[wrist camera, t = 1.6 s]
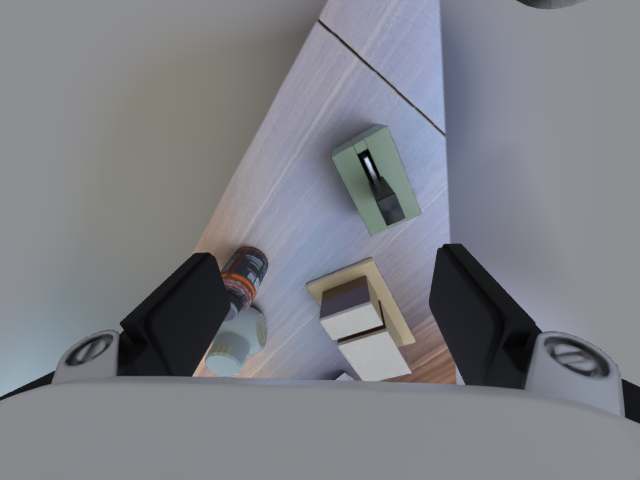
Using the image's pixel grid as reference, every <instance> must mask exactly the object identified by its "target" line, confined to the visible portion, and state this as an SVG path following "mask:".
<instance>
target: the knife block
mask: <svg viewBox="0 0 640 480" xmlns="http://www.w3.org/2000/svg"><path fill="white" fill-rule="evenodd" d="M363 151H364V152H365V154H366V155H367V157H368V159H369V161H370V164H371V166H372V168H373V170H374V173H375V175H376V177H377V178H379V177H381V176H383V177H384V178H385V179H386V181H387V182H388V184H389V185H390V186H391V188H392V189H393V191H394V192H395V193H396V196H397V198H398V200H399V203H400V205H401V208H402V210H403V212H404V215H405V219H403V220H400V221H398V222H396V223H394V224H391V225H389V226H387V225H386V223H385V221H384V219H383V217H382V215H381V212H380V210H379V208H378V206H377V204H376V202H375V199H374V197H373V194H372V192H371V190H370V187H369V185H368V183H369V182H371V181H373V180H372V178H371V176H370V174H369V171H368V169H367V167H366V165H365V163H364V160H363V158H362V156H361V154H360V153H361V152H363ZM331 158H332V160H333V162H334V164H335V166H336V168H337V170H338V172H339V174H340V176H341V178H342V180H343V182H344V184H345V186H346V188H347V190H348V192H349V194H350V196H351V198H352V200H353V202H354V203H355V205H356V207H357V209H358V211H359V213H360V215H361V217H362V219H363V221H364V223H365V225H366V227H367V229H368V231H369V233H370V235H371V236H372V235H375V234H377V233H379V232H381V231H384V230H386V229H388V228H390V227H393V226H395V225H398V224H400V223H402V222H405V221H407V220H409V219H412V218H414V217H416V216H419V215H421V214H422V213H421V210H420V208H419V205H418V203H417V200H416V197H415V195H414V192H413V190H412V187H411V185H410V182H409V179H408V177H407V174H406V172H405V169H404V167H403V164H402V161H401V159H400V156H399V154H398V151H397V149H396V146H395V143H394V141H393V138H392V136H391V133H390V131H389V128H388V126H386V125H381V124H376V125H374V126H373V127H371V128H369V129H367V130H366V131H364V132H362V133H360V134H359V135H357V136H355V137H353V138H352V139H350V140H348V141H347V142H345V143H343V144H341V145H340V146H338V147H336V148H334V149H333V153H332V157H331Z"/></svg>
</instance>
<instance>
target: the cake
mask: <svg viewBox="0 0 640 480" xmlns="http://www.w3.org/2000/svg"><path fill="white" fill-rule="evenodd" d="M306 287H307V289H308V290H309V292H310V293H311V295H312V296H313V297H314V299H315V300H316V302H317V303H318V304H319V306H320V307H321V310H320V319H319V322H320V324H321V325H322V326H323V328H324V329H325V330H326V332H327V333H328V334H329V336H330V337H331V339H332V340H336V339H337V347H338V348H339V349H340V351H341V352H342V353H343V355H344V356H345V358H346V359H347V360H348V362H349V363H350V364H351V366H352V367H353V368H354V370H355V371H356V372H357V374H358V375H359V377H360V378H361V379H362V381H373V382H376V381H380V380H384V379H388V378H392V377H397V376H401V375H405V374H409V373H411V370H410V366H409V363H408V359H407V355H406V352H405V348H404V345H408V344H411V343H415V342H416V340H415V338H414V336H413V334H412V332H411V330H410V328H409V326H408V324H407V322H406V321H405V319H404V317H403V315H402V313H401V311H400V309H399V307H398V305H397V303H396V302H395V300H394V298H393V296H392V294H391V292H390V290H389V288H388V286H387V284H386V283H385V281H384V279H383V277H382V275H381V273H380V271H379V269H378V267H377V266H376V264H375V262H374V260H373V258H372V257H371V258H369V259H366V260H364V261H361V262H359V263H357V264H354V265H352V266H349V267H347V268H344V269H342V270H339V271H337V272H334V273H332V274H329V275H327V276H324V277H322V278H320V279H317V280H315V281H312V282H310V283H307V286H306Z"/></svg>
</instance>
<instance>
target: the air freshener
mask: <svg viewBox="0 0 640 480" xmlns="http://www.w3.org/2000/svg"><path fill="white" fill-rule="evenodd" d="M266 335H267V331H266V323H265V319H264V316H263V315H262V314H261V313H260V312H259V311H258V310H256V309H254V308H252V307H250V306H249V307H248V308H247V309H246V310H244V311H242V312H239V314H238V316H237V317H236V319H235V320H233V321H230V322H223V323H222V325H221V327H220V328H219V330H218V332H217V334H216V335H215V337H214V339H213V345H212V347H211V349H210V351H209V353H208V354H207V356H206V358H205V363H206V366H207V368H208V369H209V370H210V371H211V372H213V373H214V374H216V375H219V376H222V377H233V376H235V375H237V374H239V373H240V372H241V370H242V368H243V365H244V363H245V360H246V358H247V356H249V355H252V354H255V353H257V352H259V351H260V350H261V349H262V348H263V347H264V346H265V343H266Z"/></svg>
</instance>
